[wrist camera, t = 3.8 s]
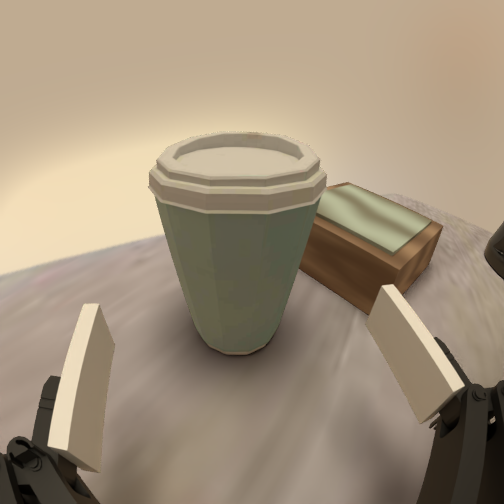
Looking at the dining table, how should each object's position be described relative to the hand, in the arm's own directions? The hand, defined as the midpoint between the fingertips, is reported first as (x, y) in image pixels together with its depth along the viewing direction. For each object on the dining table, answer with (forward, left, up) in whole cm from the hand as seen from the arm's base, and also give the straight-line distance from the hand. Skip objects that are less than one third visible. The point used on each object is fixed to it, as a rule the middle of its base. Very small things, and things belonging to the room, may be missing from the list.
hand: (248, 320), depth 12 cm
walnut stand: (-23, -7, -9) cm, 26 cm away
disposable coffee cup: (-4, -7, -9) cm, 12 cm away
